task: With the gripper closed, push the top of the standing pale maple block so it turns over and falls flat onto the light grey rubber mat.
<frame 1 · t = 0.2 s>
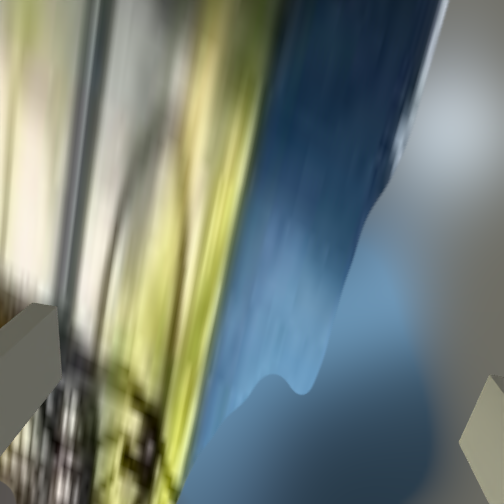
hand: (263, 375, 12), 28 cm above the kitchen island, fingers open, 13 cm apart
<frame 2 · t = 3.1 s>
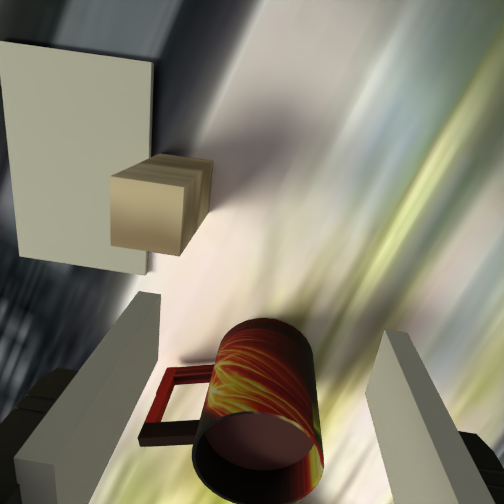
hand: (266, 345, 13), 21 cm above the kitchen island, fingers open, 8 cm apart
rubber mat: (81, 168, 33), on the kitchen island
mug: (248, 366, 40), on the kitchen island
maple block: (184, 183, 33), on the kitchen island
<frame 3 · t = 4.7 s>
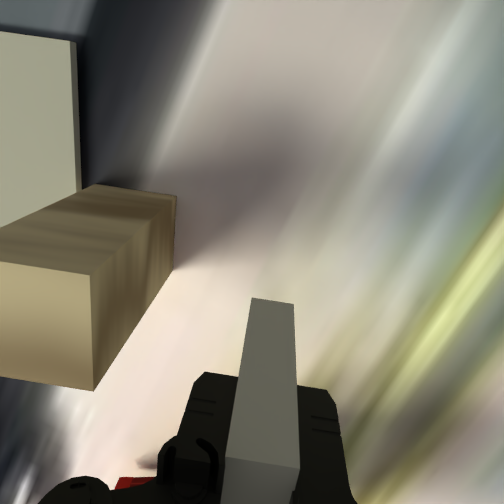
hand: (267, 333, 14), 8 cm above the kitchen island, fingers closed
mug: (233, 472, 29), on the kitchen island
maple block: (135, 229, 22), on the kitchen island
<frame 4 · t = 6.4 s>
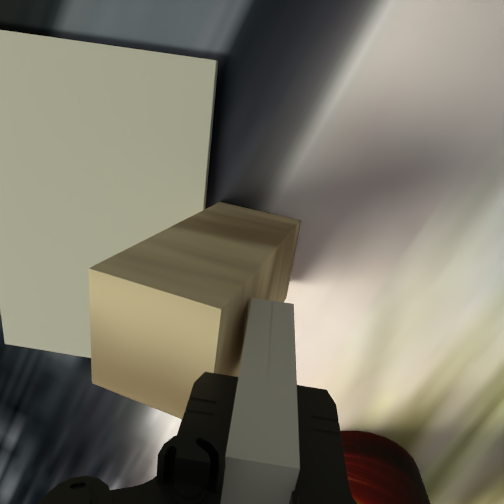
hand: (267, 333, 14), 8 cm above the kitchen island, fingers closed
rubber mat: (97, 222, 22), on the kitchen island
mug: (323, 488, 29), on the kitchen island
maple block: (253, 250, 21), point 1 cm above the kitchen island, tilted 15°, touching gripper
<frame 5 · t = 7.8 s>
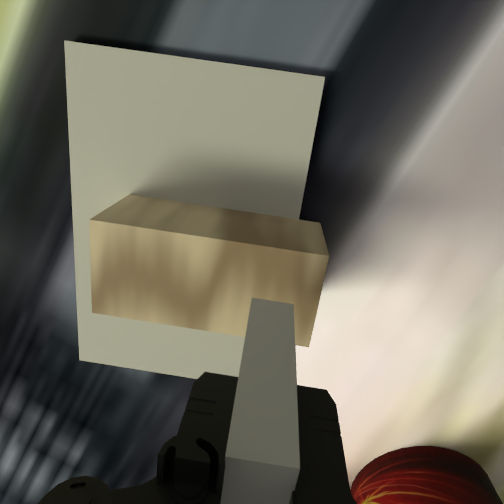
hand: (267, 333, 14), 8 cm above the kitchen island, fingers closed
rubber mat: (184, 238, 22), on the kitchen island
mug: (390, 502, 28), on the kitchen island
maple block: (314, 280, 19), point 3 cm above the kitchen island, tilted 90°, touching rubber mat
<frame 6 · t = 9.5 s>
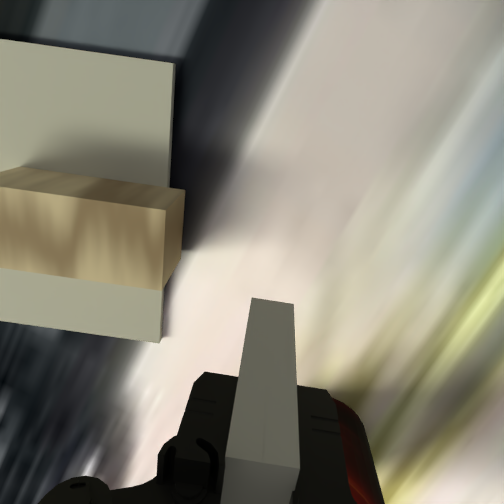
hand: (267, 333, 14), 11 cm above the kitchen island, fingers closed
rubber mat: (74, 206, 25), on the kitchen island
mug: (282, 448, 32), on the kitchen island
maple block: (174, 237, 22), point 3 cm above the kitchen island, tilted 90°, touching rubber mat
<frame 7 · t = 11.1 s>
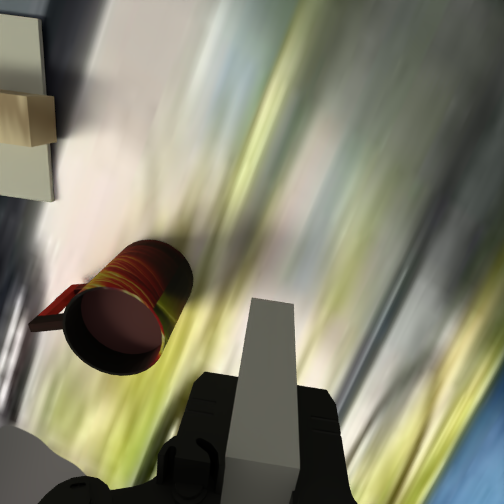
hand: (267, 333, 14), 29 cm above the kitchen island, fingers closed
mug: (141, 284, 48), on the kitchen island
maple block: (42, 121, 38), point 3 cm above the kitchen island, tilted 90°, touching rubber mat
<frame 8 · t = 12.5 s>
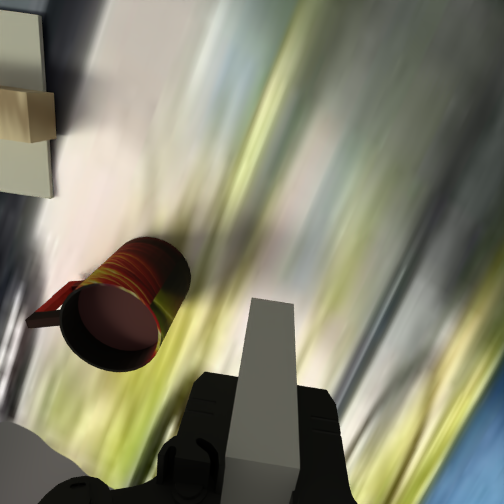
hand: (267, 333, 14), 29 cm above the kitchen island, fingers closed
mug: (138, 281, 48), on the kitchen island
maple block: (42, 117, 38), point 3 cm above the kitchen island, tilted 90°, touching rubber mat
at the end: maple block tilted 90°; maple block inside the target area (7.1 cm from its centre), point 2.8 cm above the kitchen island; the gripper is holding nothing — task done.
